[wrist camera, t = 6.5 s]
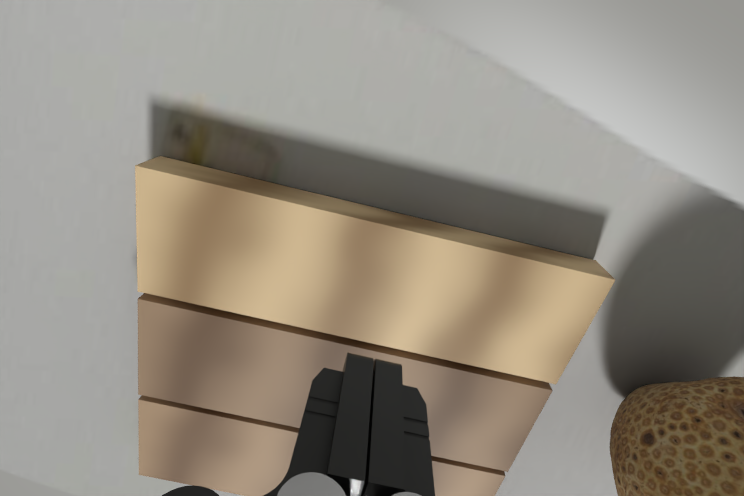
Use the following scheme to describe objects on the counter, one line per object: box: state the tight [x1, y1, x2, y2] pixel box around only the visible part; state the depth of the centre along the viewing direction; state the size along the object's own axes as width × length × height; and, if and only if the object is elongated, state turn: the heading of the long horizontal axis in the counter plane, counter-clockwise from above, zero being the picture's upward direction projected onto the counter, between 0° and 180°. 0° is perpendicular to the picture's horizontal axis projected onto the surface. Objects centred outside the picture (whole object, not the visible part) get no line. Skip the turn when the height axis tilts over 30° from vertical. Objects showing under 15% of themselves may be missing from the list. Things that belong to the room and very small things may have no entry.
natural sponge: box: [610, 377, 744, 496], centre depth 19 cm, size 9×9×10 cm
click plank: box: [135, 156, 615, 384], centre depth 20 cm, size 22×6×2 cm, turn 77°
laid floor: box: [138, 293, 552, 496], centre depth 24 cm, size 22×13×2 cm, turn 77°
